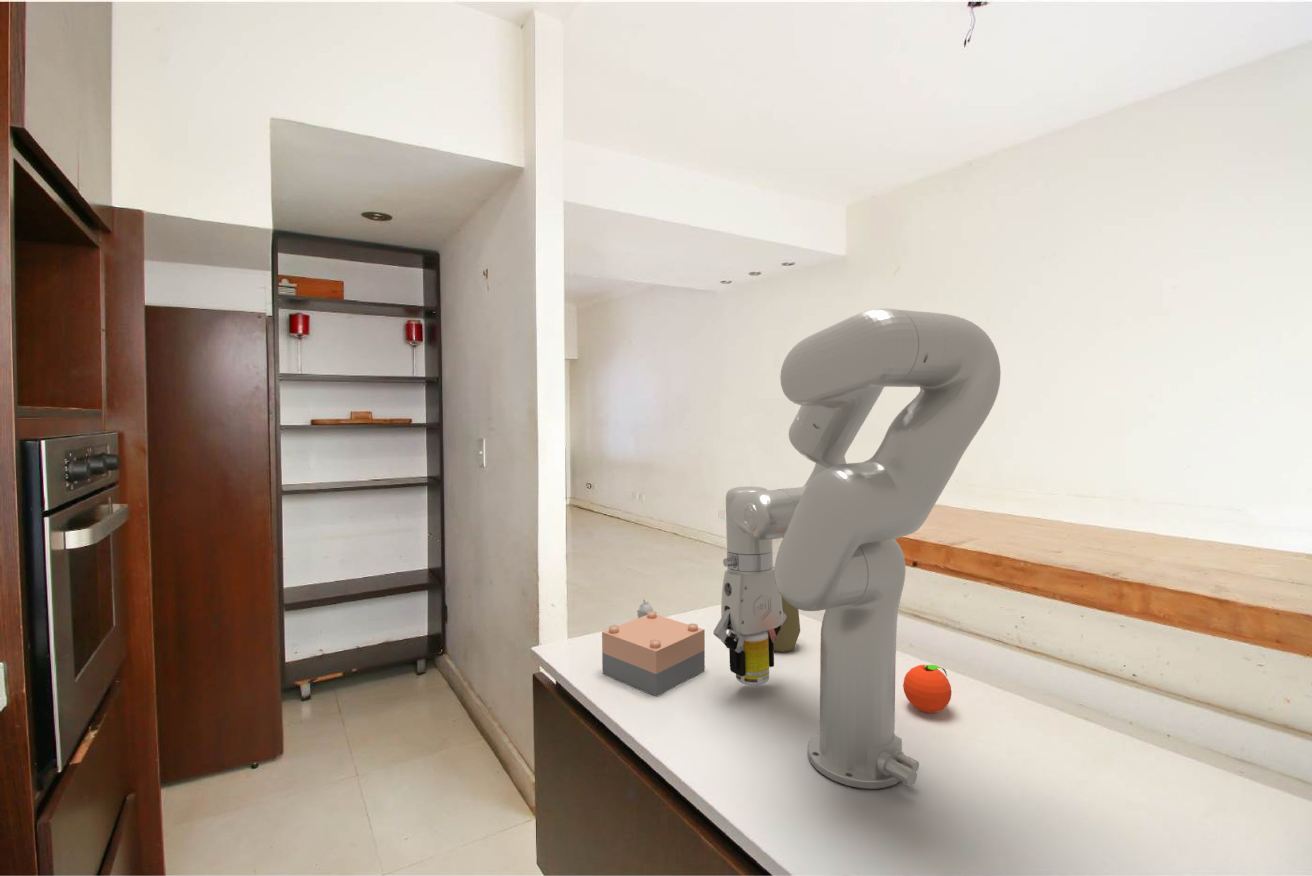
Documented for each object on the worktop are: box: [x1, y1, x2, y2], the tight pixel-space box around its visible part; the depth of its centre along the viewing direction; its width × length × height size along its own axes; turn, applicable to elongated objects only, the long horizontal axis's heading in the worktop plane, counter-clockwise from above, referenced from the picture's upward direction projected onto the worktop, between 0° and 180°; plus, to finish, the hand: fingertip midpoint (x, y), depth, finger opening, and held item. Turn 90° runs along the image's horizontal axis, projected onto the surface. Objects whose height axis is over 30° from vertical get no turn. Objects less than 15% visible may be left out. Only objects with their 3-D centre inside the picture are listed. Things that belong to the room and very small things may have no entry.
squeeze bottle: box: [773, 596, 801, 652], centre depth 120 cm, size 8×8×18 cm
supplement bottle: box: [735, 631, 770, 687], centre depth 102 cm, size 6×6×10 cm
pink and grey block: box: [601, 610, 706, 697], centre depth 109 cm, size 13×13×8 cm
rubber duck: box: [636, 598, 654, 619], centre depth 126 cm, size 5×7×8 cm
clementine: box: [902, 664, 952, 714], centre depth 95 cm, size 8×7×7 cm
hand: (752, 667), depth 102 cm, fingers closed on supplement bottle, 5 cm apart
